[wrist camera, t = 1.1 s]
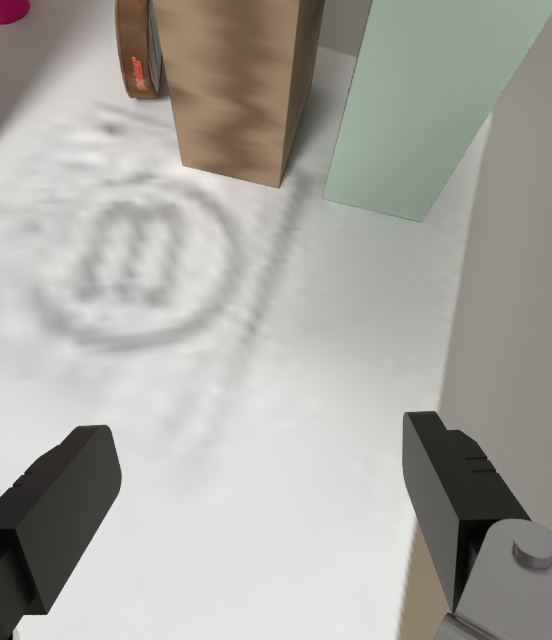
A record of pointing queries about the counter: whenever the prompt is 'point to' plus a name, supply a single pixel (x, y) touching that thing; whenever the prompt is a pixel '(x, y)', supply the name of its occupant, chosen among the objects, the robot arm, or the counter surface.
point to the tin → (138, 47)
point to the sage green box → (424, 96)
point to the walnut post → (238, 80)
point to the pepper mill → (12, 10)
